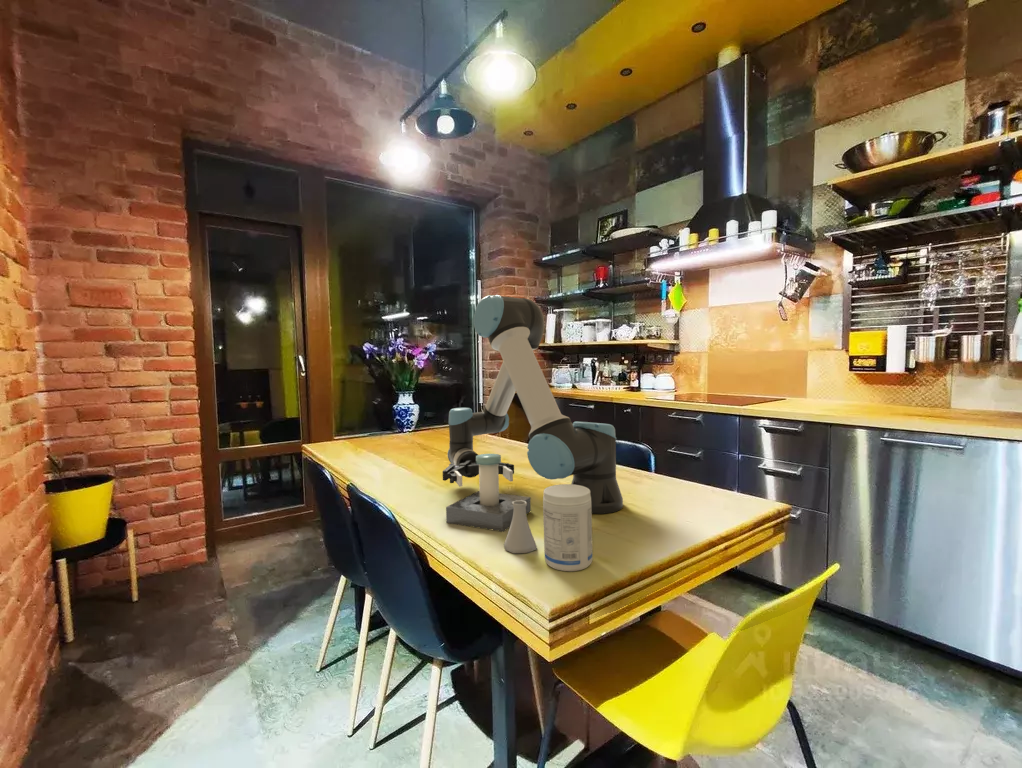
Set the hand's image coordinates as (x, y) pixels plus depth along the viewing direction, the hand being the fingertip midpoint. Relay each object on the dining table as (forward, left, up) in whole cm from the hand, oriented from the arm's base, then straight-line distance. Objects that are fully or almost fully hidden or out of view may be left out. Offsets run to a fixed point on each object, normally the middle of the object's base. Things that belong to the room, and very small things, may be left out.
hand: (486, 478), depth 124 cm
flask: (-17, +15, -10) cm, 25 cm away
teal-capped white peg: (-1, 0, -10) cm, 10 cm away
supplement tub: (-29, +18, -10) cm, 36 cm away
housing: (-1, 0, -10) cm, 10 cm away
